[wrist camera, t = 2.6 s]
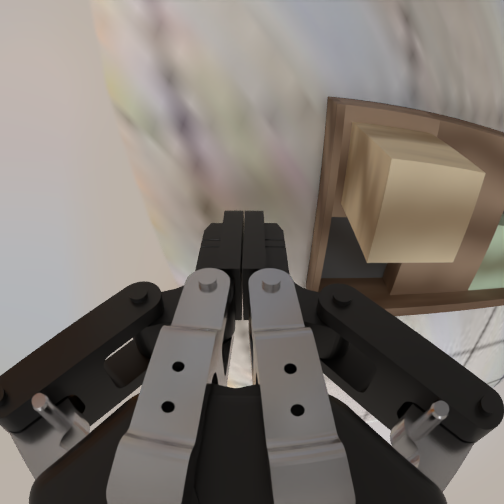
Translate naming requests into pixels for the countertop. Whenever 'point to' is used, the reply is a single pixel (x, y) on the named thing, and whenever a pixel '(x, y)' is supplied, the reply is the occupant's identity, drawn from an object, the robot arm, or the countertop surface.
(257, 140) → the countertop surface
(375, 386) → the robot arm
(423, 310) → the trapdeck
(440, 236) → the block
